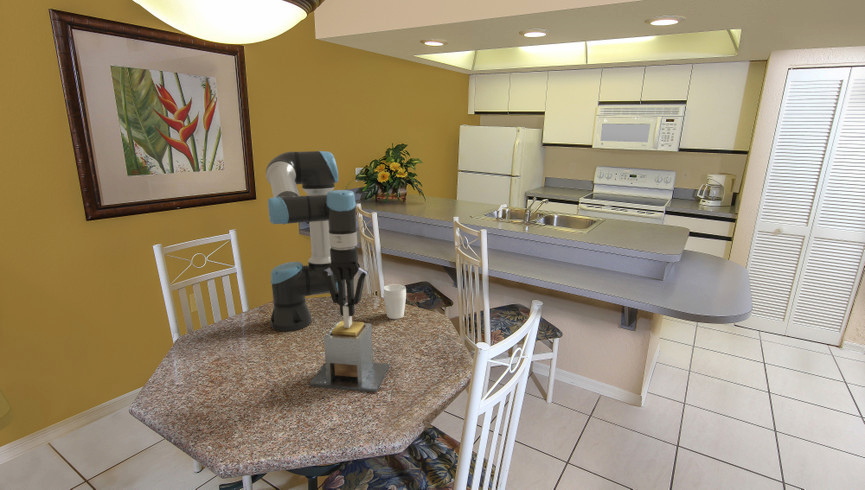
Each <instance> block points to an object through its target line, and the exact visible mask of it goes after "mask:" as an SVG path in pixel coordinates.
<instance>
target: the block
mask: <svg viewBox="0 0 865 490" xmlns="http://www.w3.org/2000/svg"><path fill="white" fill-rule="evenodd" d="M339 322H340V323H339V324H338V325H337V326H336V327H335V328H334V329H333V330H332V335H333V336H347V337H358V336H359V334H360V333H361V332H362V330H363V329H364V323H365V322H363V321H352V325H351V326H350V327H349V328H344V320H340V321H339ZM334 368H335V375H338V376H350V377H358V373H357V365H348V364H336V363H334Z"/></svg>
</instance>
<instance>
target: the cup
mask: <svg viewBox="0 0 865 490" xmlns="http://www.w3.org/2000/svg"><path fill="white" fill-rule="evenodd" d="M382 295H383V300H384V305H385V312H386V317H387V318H388V319H392V320H398V319H401V318H403V317H405V309H406V299H407V288H406V286H405V285H403V284H398V283H391V284H387V285H385V286H384V287H383V294H382Z"/></svg>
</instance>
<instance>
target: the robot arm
mask: <svg viewBox="0 0 865 490" xmlns="http://www.w3.org/2000/svg"><path fill="white" fill-rule="evenodd" d="M265 178H266V180H267V182H268V184H269V185H270V186H271V191H272V192H271V193H272V197H269V198H267V199H268V200H267V209H268V218H269V222H270V223H271V224H272V225H287V224H289V225H290V224H301V223H308V225H309V233H310V247H311V248H310V249H311V256H310V257H309V258H308V260H307V265H304V264H303V263H302V262H301V261H290V262H285V263H281V264H279V265H277V266H275V267H274V268H273V269H272V270H271V272H270V284H271V291H272V303H273V308H272V312H271V315H270V323H269V324H270V328H271V327H272V328H273V330H275V331H277V330H278V331H279V332H292V331H297V330H301V329H305V328H306V327H308V326H309V325H310V324H311V323H312V321H313V319H312V314H311V311H310V308H309V307H308V305H307V303H306V297H310V296H315V295H316V296H317V295H323V294H330V297H331V300H332V303H333V304H338V305H339V314H340V316H342V318H343V321H344V328H349V327H350V326H351V325H352V322H353V316H354V315H355V313H356V312H355V305H358V304H359V303H360V302H361V301H362V300H361V298H362V294H363V289H364V284H365V279H366V277H367V276H368V274H369V271H368V270H363V269H362V268H361V265H360V264H359V253H358V252H359V251H358V250H359V249H358V247H357V245H358V234H357V233H358V232H357V212H356V209H357V207H356V206H357V202H356V196H355V192H354V191H352V190H348V189H336V190H334V189H335V184H337V183H339V169H338V166H337V162H336V159H335V156H334V154H333V153H332V152H330V151H325V150H323V151H322V150H318V151H316V150H314V151H287V152H283V153H281V154H278V155H277V156H275V157H274V158H273V159H271V160H270V161H269V162H268V164H267V166H266V170H265ZM297 185H301V188H302V190H303V191H304V193H306V195H300V192H299V190H298V186H297ZM357 273H358V274H357ZM356 274H357V277H358V279H357V282H356V288H355V285H354V284H355V283H354V282H355V276H356Z"/></svg>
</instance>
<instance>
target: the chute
mask: <svg viewBox="0 0 865 490" xmlns="http://www.w3.org/2000/svg"><path fill="white" fill-rule="evenodd" d="M340 322H341V321H336V323H335V324H334V325H333V326H332V327H331V328H330V329H329V330H328V332H327V333H326V334H325V335H324V336H323V344H324V345H323V347H324V359H325V363H323V366H322V367H320V369H319V370H318V372H317V373H316V374H315V375H314V376H313V378H312V379H311V380H310V381H309V384H308V387H312V388H322V389H324V388H325V389H333V390H335V389H336V390H344V391H345V390H346V391H355V392H356V391H357V392H367V393H375V394H376V393H377V392H378V391H379V388H380V386H381V385H382V382H383V380H384V379H385V377H386V375H387V372H388V371H389V369H390V364H389V363H380V362H379V363H378V362H374V354H373V353H374V352H373V350H374V349H373V329H372V323H369V322H368V323H366V322H364V329H363V330H362V332H361V333H360V334H359V336H358V337H347V336H333V335H332V330H333V329H334V328H335V327H336V326H337V325H338V324H339V323H340ZM334 363H336V364H348V365H357V373H358V377H350V376H338V375H335V368H334Z"/></svg>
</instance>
